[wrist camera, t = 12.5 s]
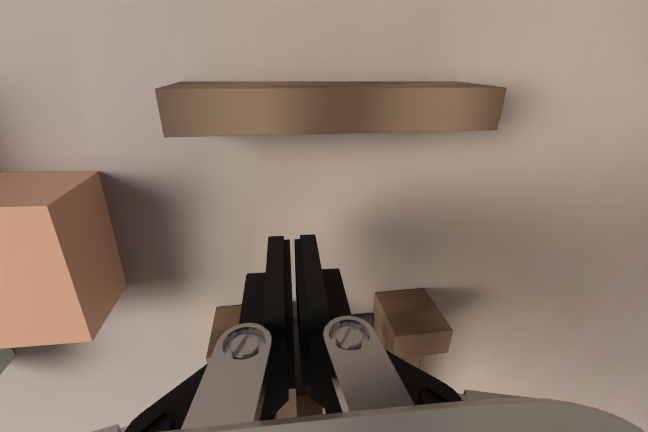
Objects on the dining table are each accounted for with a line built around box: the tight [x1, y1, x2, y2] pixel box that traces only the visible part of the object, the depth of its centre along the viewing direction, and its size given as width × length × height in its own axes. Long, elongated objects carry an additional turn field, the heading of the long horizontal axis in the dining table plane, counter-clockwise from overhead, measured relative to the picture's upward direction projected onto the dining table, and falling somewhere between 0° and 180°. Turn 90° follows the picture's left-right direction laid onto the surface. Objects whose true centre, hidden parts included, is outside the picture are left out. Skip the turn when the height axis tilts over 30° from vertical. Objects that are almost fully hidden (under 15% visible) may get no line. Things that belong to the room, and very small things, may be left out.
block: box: [0, 171, 127, 349], centre depth 14 cm, size 6×6×4 cm
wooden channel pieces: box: [155, 82, 506, 419], centre depth 17 cm, size 12×21×4 cm, turn 0°
